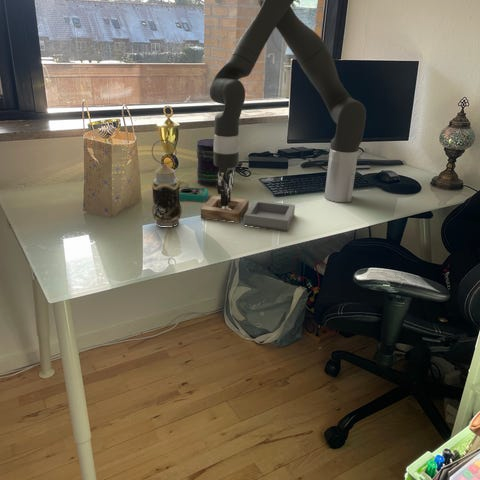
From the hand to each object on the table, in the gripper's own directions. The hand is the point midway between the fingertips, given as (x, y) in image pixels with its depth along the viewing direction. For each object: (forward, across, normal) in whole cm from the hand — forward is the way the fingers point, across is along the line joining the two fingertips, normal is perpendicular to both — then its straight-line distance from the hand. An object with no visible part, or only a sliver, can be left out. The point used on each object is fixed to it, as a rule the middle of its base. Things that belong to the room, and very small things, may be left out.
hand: (225, 203), depth 143 cm
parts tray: (+3, -1, -14) cm, 15 cm away
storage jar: (+3, +27, +14) cm, 31 cm away
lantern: (+3, -13, +14) cm, 19 cm away
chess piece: (+3, 0, 0) cm, 3 cm away
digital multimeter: (+4, +10, +17) cm, 20 cm away
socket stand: (+3, 0, 0) cm, 3 cm away
